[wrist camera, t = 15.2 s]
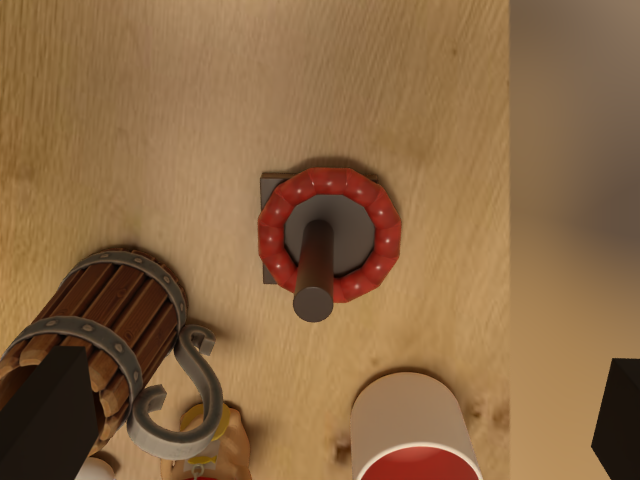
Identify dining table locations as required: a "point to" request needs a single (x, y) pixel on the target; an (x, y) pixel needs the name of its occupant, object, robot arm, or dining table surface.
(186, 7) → the dining table surface
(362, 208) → the stand
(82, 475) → the egg
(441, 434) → the cup
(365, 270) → the ring
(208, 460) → the figurine
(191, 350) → the mug
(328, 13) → the dining table surface
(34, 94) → the dining table surface
